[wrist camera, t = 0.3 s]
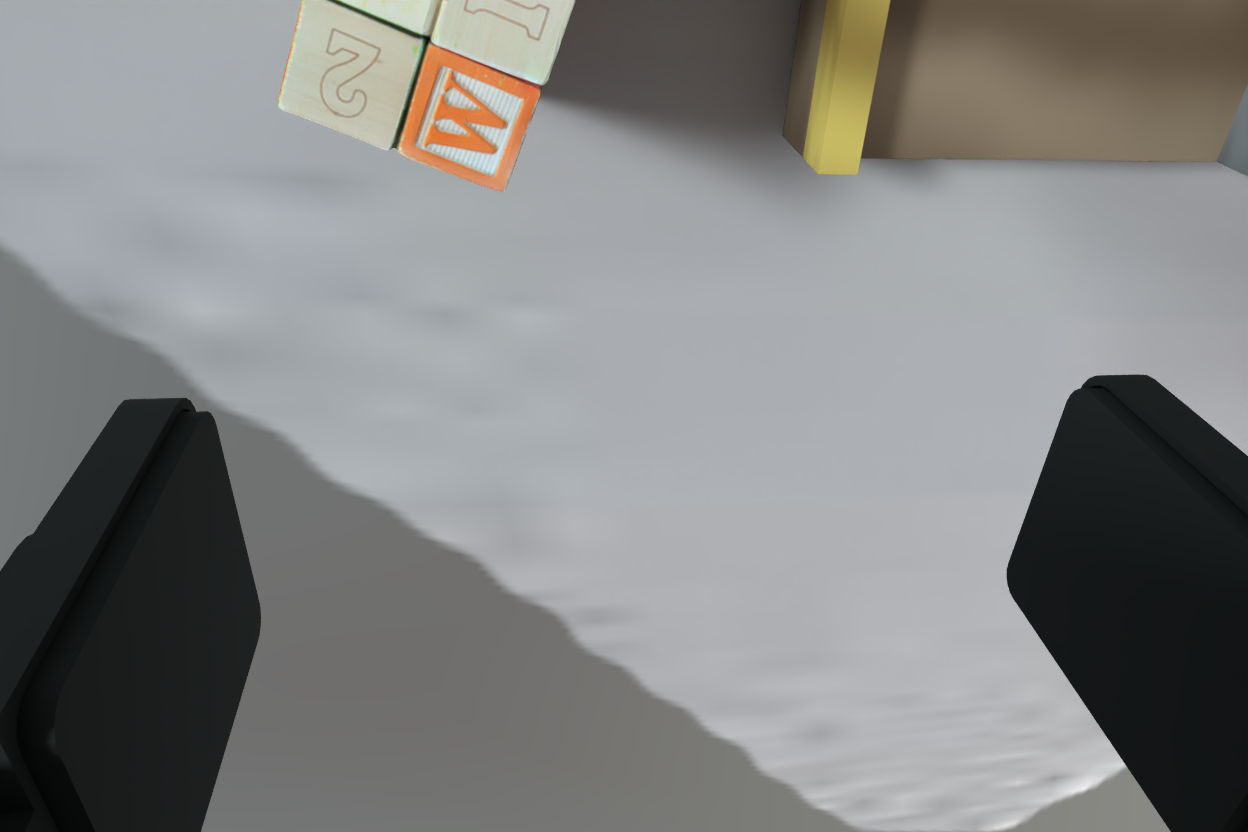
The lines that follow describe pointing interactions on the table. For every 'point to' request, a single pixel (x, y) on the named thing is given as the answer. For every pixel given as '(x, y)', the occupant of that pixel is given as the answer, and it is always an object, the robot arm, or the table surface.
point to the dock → (1019, 81)
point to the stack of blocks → (427, 76)
